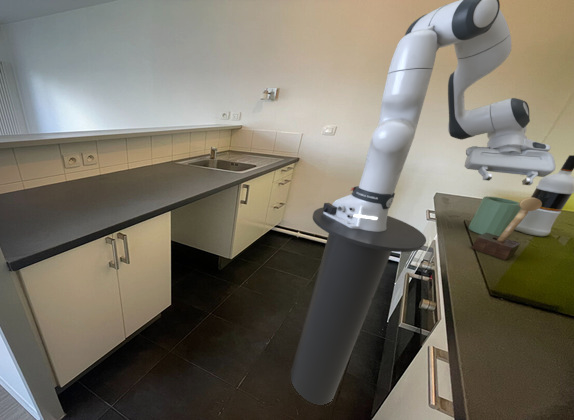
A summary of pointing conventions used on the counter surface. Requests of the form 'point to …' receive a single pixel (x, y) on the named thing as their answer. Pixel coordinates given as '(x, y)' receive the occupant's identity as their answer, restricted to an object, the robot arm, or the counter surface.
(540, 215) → the vodka
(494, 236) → the spoon stand
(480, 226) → the cup
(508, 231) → the spoon
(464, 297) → the counter surface
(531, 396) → the counter surface
